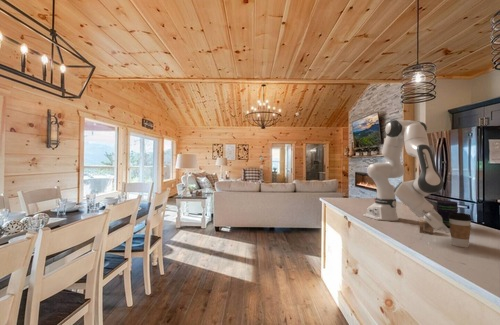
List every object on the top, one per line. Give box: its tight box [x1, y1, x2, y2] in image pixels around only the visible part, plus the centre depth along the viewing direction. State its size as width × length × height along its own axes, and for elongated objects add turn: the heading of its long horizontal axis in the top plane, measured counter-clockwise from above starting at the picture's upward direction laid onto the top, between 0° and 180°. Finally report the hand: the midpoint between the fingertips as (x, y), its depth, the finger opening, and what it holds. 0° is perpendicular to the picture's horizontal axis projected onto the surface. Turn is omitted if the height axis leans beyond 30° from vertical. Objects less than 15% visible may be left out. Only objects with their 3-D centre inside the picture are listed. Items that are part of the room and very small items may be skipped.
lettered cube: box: [418, 219, 434, 235], centre depth 133 cm, size 6×6×6 cm
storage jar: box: [436, 200, 459, 230], centre depth 143 cm, size 10×10×15 cm
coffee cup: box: [448, 212, 473, 248], centre depth 112 cm, size 8×8×15 cm
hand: (448, 231), depth 114 cm, fingers closed
